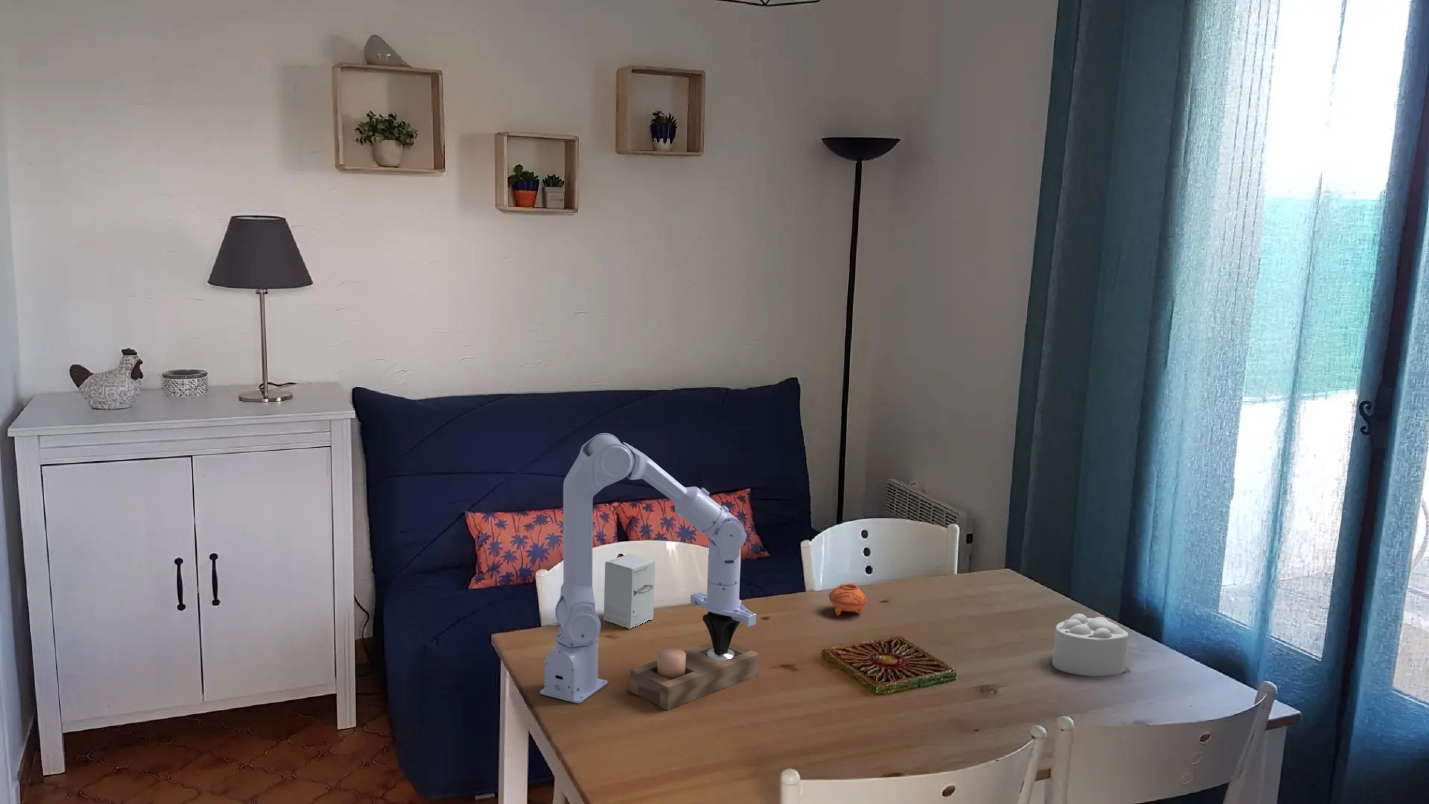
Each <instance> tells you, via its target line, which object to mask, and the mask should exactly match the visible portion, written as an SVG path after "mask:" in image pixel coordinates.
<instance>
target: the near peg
mask: <svg viewBox="0 0 1429 804" xmlns="http://www.w3.org/2000/svg"><path fill="white" fill-rule="evenodd" d="M684 651H685V650H682V649H680V648H673V647H672V648H663V649H660V650H659V651H658V652H657V660H656V661H657V674H658V675H660V676H663V677H665V678H667V679H669V680H672V679H675V678H677V677H680V676H683V675H685V664H686V653H685V652H684Z"/></svg>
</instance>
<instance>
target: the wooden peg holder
mask: <svg viewBox="0 0 1429 804" xmlns="http://www.w3.org/2000/svg"><path fill="white" fill-rule="evenodd" d="M712 648H713V644H712V641H708V642H706V643H703V644H700V645H697V646H695V647H691V648H689V649H686V650H683V651H684V652H685V653H686V664H685V675H683V676H680V677H677V678H675V679H672V680H669V679H667V678H665V677H663V676H660V675H658V674H657V660H654V661H651V662H648V663H646V664H642V665H640V666H636V667H634V668H631V669H630V680H629V681H630V684H629V685H630V686H629V687H630V688H629V691H630V692H631V693H632V694H635V695H637V696H638V697H640V698H642V699H645V700H646V701H649V702H650V703H652V704H655V705H657V706H658V707H660V708H663V709H664V710H666V711H670V710H672V709H675V708H677V707H680V706H683V705H685V704H688V703H690V702H693V701H695V700H698V699H700V698H703V697H706V696H708V695H711V694H713V693H716V692H719V691H721V690H723V689H727V688H728V687H731V686H734V685H736V684H738V683H739V684H740V683H741V682H745V681H747V680H750V679H753V678H754V677H756V676H757V677H758V676H759V675H760V655H761V654H760V652H757V651H755V650H752V649H750V648H746V647H744V646H742V645H739V644H737V643H735V642H732V641H731V642H730V645H729V648H728V649H730V650H732V651H733V652H734V657H732V658H729V659H727V660H724V661H718V660H716V659H714V658H711V657H709V656H707V652H708V650H710V649H712Z"/></svg>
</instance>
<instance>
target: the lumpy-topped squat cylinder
mask: <svg viewBox="0 0 1429 804" xmlns="http://www.w3.org/2000/svg"><path fill="white" fill-rule="evenodd" d="M1054 629H1055V630H1054V631H1055V632H1054V640H1053V651H1052V660H1051V661H1052V663H1051V665H1052V666H1053V667H1054V668H1055V669H1057V670H1059V671H1062V672H1065V673H1068V674H1069V673H1070V674H1074V675H1077V676H1078V675H1079V676H1086V677H1104V676H1112V675H1119V674H1123V673H1125V670H1126V663H1127V657H1128V656H1127V655H1128V654H1127V652H1128V646H1129V644H1128V643H1129V633H1128V631H1126V630H1124V629H1123V628H1121V626H1119V625H1117V624H1116V623H1113V622H1112V621H1109V619H1107V618H1106V617H1104V616H1096V617H1087V616H1086V615H1085V614H1083V613H1074V614H1073V615H1071V616H1070V617H1069V618H1068V619H1065V620H1063V621H1061V622H1059V623H1057V624H1056V626H1055V628H1054Z"/></svg>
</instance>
